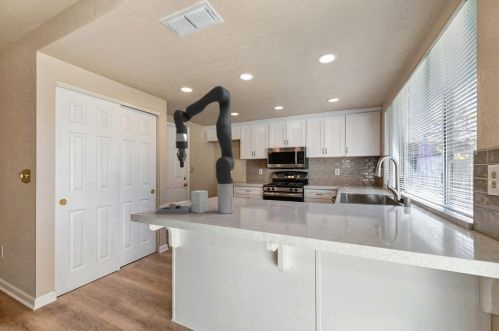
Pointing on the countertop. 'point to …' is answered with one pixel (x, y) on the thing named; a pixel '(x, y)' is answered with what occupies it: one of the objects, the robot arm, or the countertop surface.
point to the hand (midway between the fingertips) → (181, 167)
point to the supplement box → (199, 201)
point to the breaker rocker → (175, 203)
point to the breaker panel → (174, 209)
